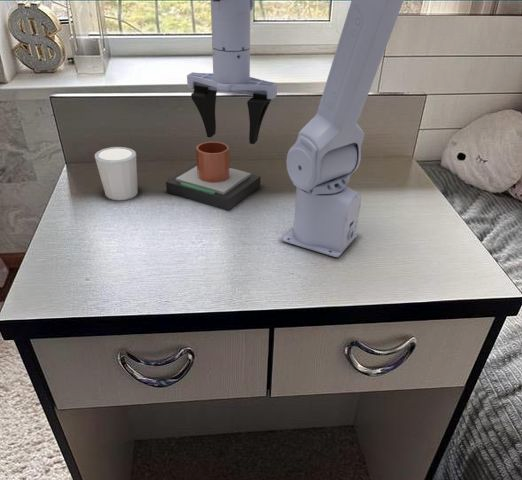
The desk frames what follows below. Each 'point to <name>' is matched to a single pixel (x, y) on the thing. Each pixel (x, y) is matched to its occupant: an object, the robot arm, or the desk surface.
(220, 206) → the scale
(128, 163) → the shot glass
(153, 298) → the desk surface
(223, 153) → the cup
